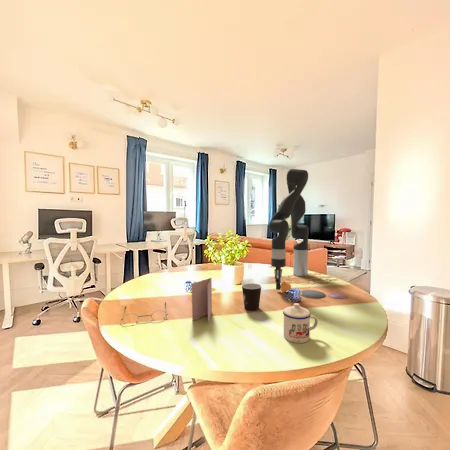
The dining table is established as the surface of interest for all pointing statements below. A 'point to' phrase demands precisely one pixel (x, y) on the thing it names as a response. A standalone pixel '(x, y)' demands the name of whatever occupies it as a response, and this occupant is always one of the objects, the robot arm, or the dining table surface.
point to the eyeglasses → (143, 315)
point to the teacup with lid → (297, 324)
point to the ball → (285, 286)
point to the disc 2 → (337, 295)
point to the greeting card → (202, 299)
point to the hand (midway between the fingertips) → (278, 289)
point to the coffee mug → (251, 296)
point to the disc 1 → (313, 294)
